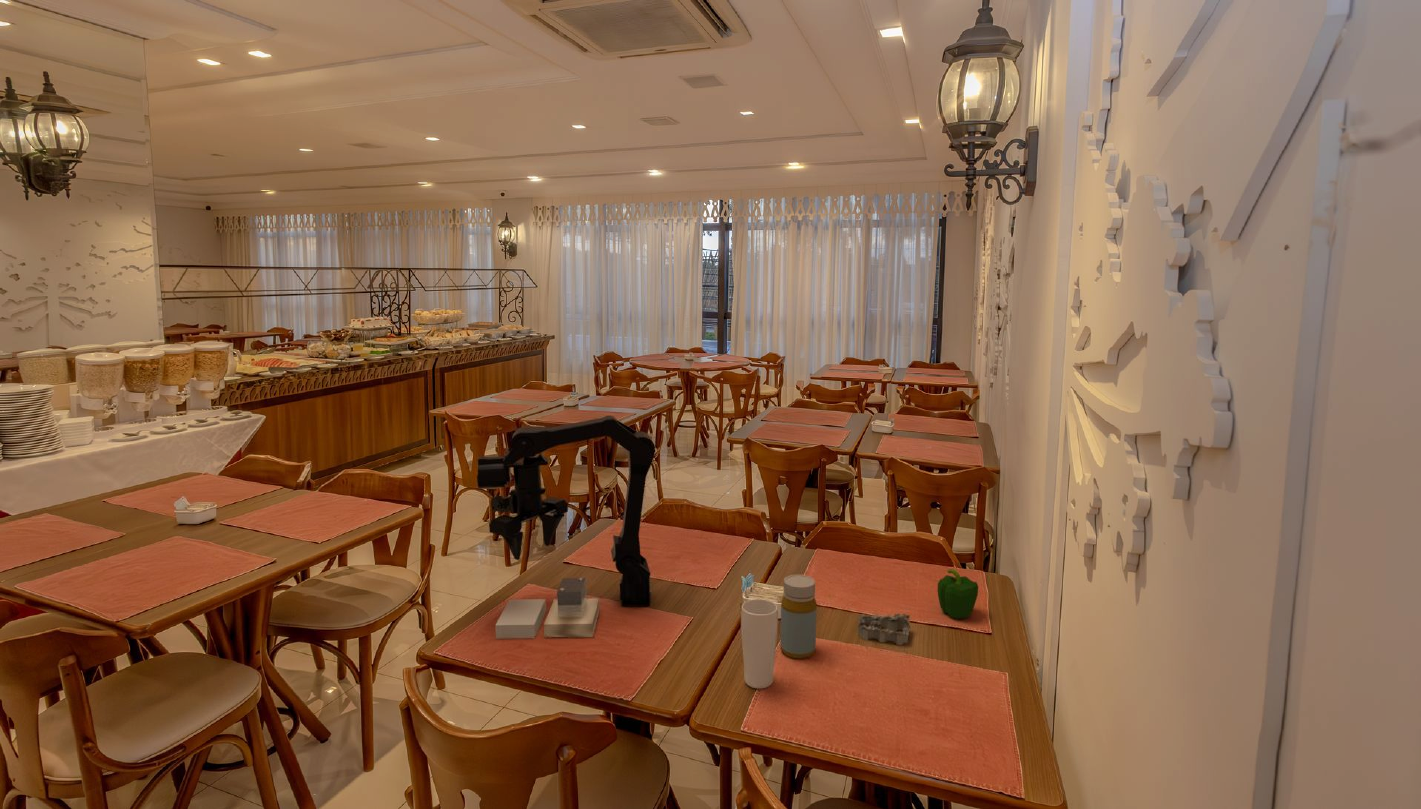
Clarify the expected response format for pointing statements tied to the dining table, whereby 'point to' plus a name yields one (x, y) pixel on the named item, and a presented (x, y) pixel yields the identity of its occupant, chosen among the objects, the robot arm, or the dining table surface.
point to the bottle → (798, 617)
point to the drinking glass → (759, 641)
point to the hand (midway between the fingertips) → (532, 552)
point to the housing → (571, 598)
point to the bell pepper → (957, 595)
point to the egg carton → (886, 622)
